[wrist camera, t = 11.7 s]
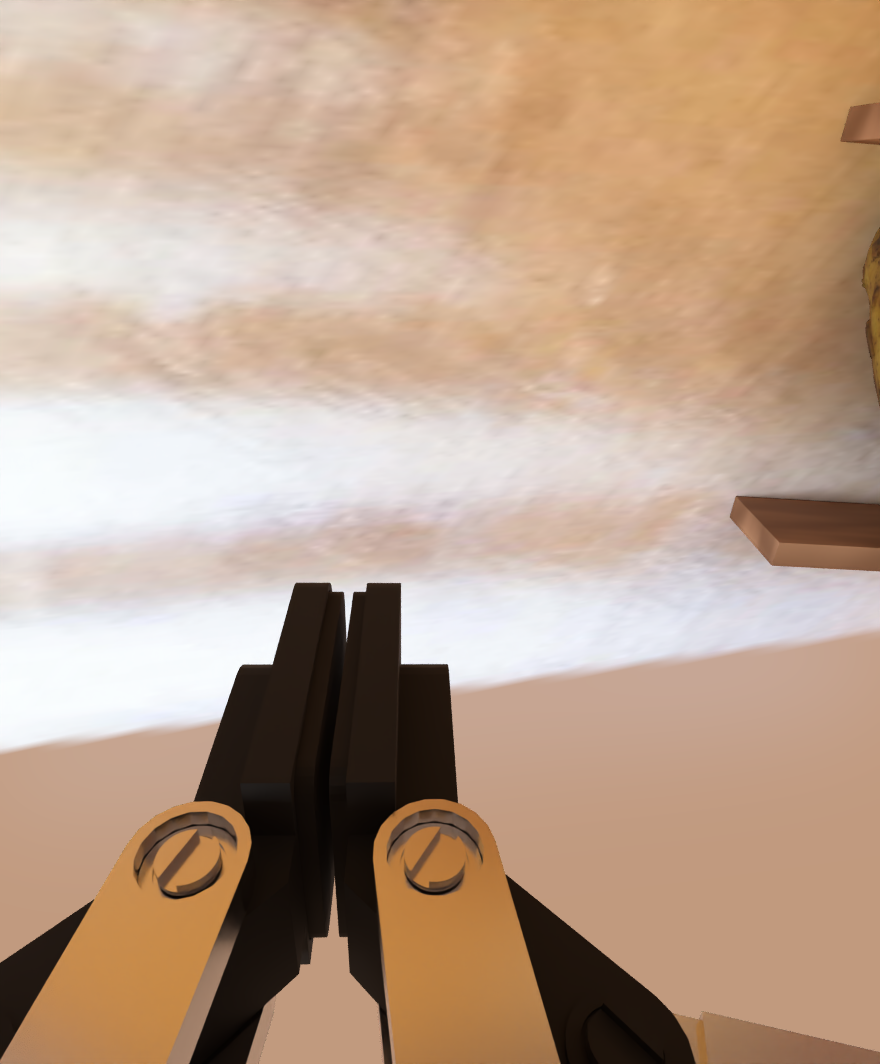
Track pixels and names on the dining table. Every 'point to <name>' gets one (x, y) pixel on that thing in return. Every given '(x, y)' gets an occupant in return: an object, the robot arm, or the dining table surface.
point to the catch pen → (818, 526)
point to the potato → (873, 306)
